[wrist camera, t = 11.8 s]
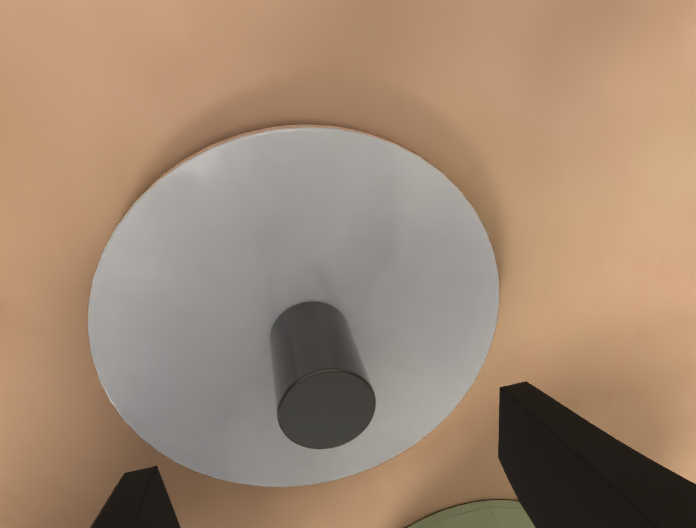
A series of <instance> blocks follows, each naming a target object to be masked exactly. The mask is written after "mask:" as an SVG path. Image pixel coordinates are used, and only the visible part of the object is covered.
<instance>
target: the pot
mask: <svg viewBox="0 0 696 528" xmlns="http://www.w3.org/2000/svg"><path fill="white" fill-rule="evenodd" d="M407 528H535V526H534V524H533V523H532V521H531V520H530V518H529V517H528V515H527V513H526V512H525V510H524V508H523V507H522V505H521V504H520V502H519V501H512V500H488V501H479V502H473V503H468V504H464V505H459V506H456V507H453V508H449V509H446V510H443V511H440V512H438V513H436V514H433V515H431V516H428V517H426V518H424V519H422V520H420V521H418V522H416V523H414V524H412V525H411V526H409V527H407Z"/></svg>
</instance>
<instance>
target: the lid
mask: <svg viewBox="0 0 696 528" xmlns="http://www.w3.org/2000/svg"><path fill="white" fill-rule="evenodd" d="M499 297H500V296H499V276H498V270H497V265H496V260H495V255H494V251H493V248H492V245H491V242H490V240H489V237H488V234H487V231H486V229H485V227H484V225H483V224H482V222H481V220H480V218H479V216H478V214H477V213H476V211H475V209H474V208H473V206H472V205H471V204H470V202H469V201H468V200H467V198H466V197H465V196H464V194H463V193H462V192H461V191H460V189H459V188H458V187H457V186H456V185H455V184H453V183H452V182H451V181H450V180H449V179H448V178H447V177H446V176H445V175H444V174H443V173H442V172H441V171H440V170H438V169H437V168H435V167H434V166H433V165H431V164H430V163H428V162H427V161H426V160H424V159H423V158H421V157H420V156H418V155H417V154H415V153H413V152H411V151H409V150H407V149H406V148H404V147H402V146H400V145H398V144H396V143H394V142H392V141H390V140H387V139H384V138H381V137H378V136H375V135H372V134H369V133H366V132H363V131H358V130H353V129H348V128H342V127H337V126H326V125H308V124H302V125H289V126H277V127H270V128H265V129H261V130H256V131H252V132H247V133H242V134H240V135H237V136H234V137H231V138H229V139H226V140H223V141H220V142H218V143H215V144H212V145H210V146H208V147H206V148H205V149H203V150H201V151H199V152H197V153H195V154H193V155H191V156H189V157H188V158H186V159H184V160H183V161H181V162H180V163H178V164H177V165H176V166H174V167H173V168H171V169H170V170H169V171H167V172H166V173H165V174H163V175H162V176H160V177H159V178H158V179H157V180H156V181H155V182H154V183H153V184H152V185H151V186H150V187H149V188H148V189H147V190H146V191H145V192H144V193H143V194H141V195H140V196H139V197H138V198H137V200H136V201H135V202H134V204H133V205H132V206H131V207H130V209H129V210H128V211H127V213H126V214H125V215H124V217H123V218H122V219H121V220H120V222H119V223H118V225H117V226H116V228H115V230H114V232H113V233H112V235H111V237H110V239H109V241H108V243H107V244H106V246H105V248H104V250H103V252H102V254H101V257H100V260H99V263H98V266H97V268H96V271H95V274H94V277H93V281H92V286H91V292H90V297H89V302H88V336H89V343H90V350H91V356H92V359H93V362H94V365H95V368H96V371H97V375H98V378H99V380H100V382H101V384H102V386H103V388H104V390H105V392H106V394H107V396H108V398H109V400H110V402H111V403H112V404H113V406H114V407H115V409H116V410H117V412H118V413H119V414H120V416H121V417H122V419H123V420H124V421H125V422H126V423H127V424H128V425H129V426H130V427H131V428H132V429H133V430H134V432H135V433H136V434H137V435H138V436H139V437H140V438H142V439H143V440H144V441H145V442H147V443H148V444H149V445H150V446H152V447H153V448H154V449H155V450H157V451H158V452H160V453H161V454H163V455H165V456H166V457H168V458H169V459H171V460H173V461H174V462H176V463H178V464H180V465H182V466H184V467H187V468H189V469H191V470H193V471H195V472H198V473H200V474H203V475H206V476H210V477H213V478H216V479H219V480H223V481H228V482H232V483H237V484H242V485H251V486H261V487H295V486H305V485H314V484H319V483H324V482H329V481H334V480H338V479H341V478H345V477H348V476H352V475H355V474H358V473H360V472H363V471H365V470H368V469H370V468H373V467H375V466H378V465H380V464H382V463H384V462H386V461H388V460H389V459H391V458H393V457H395V456H397V455H399V454H400V453H402V452H404V451H405V450H407V449H408V448H410V447H411V446H413V445H414V444H416V443H417V442H419V441H420V440H421V439H422V438H424V437H425V436H426V435H427V434H429V433H430V432H431V431H433V430H434V429H435V428H436V427H437V426H438V425H439V424H440V423H441V422H442V421H443V420H444V419H445V418H446V417H447V416H448V415H449V414H450V413H451V412H452V411H453V409H454V408H455V407H456V406H457V405H458V403H459V402H460V401H461V400H462V399H463V397H464V396H465V394H466V393H467V391H468V390H469V388H470V387H471V385H472V384H473V382H474V381H475V379H476V377H477V376H478V374H479V372H480V370H481V368H482V366H483V364H484V362H485V360H486V357H487V354H488V352H489V349H490V346H491V343H492V341H493V337H494V332H495V328H496V323H497V319H498V309H499Z"/></svg>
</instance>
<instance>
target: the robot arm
mask: <svg viewBox="0 0 696 528" xmlns="http://www.w3.org/2000/svg"><path fill="white" fill-rule="evenodd" d="M498 458H499V460H500V462H501V465H502V467H503V469H504V471H505V473H506V475H507V477H508V480H509V482H510V484H511V486H512V488H513V490H514V492H515V494H516V496H517V498H518V500H519V502H520V504H521V505H522V507H523V508H524V510H525V512H526V513H527V515H528V517H529V518H530V520H531V521H532V523H533V524H534V526H535V528H696V484H694V483H692V482H690V481H689V480H687V479H685V478H683V477H681V476H679V475H678V474H676V473H674V472H672V471H670V470H669V469H667V468H665V467H663V466H661V465H660V464H658V463H656V462H654V461H652V460H651V459H649V458H647V457H645V456H644V455H642V454H640V453H639V452H637V451H635V450H634V449H632V448H630V447H628V446H627V445H625V444H623V443H622V442H620V441H619V440H617V439H615V438H614V437H612V436H610V435H609V434H607V433H606V432H604V431H602V430H601V429H599V428H598V427H596V426H594V425H593V424H591V423H590V422H588V421H587V420H585V419H583V418H582V417H580V416H579V415H577V414H576V413H574V412H573V411H571V410H570V409H568V408H567V407H565V406H563V405H562V404H560V403H559V402H557V401H556V400H554V399H553V398H551V397H550V396H548V395H547V394H545V393H544V392H542V391H541V390H539V389H537V388H536V387H534V386H533V385H531V384H529V383H528V382H522V383H517V384H513V385H509V386H504V387H500V402H499V443H498ZM90 528H180V525H179V522H178V520H177V517H176V515H175V512H174V509H173V507H172V504H171V501H170V499H169V496H168V494H167V491H166V488H165V486H164V483H163V480H162V478H161V475H160V473H159V470H158V467H157V466H154V467H150V468H145V469H141V470H136V471H132V472H128V473H125V474H124V475H123V477H122V478H121V479H120V481H119V482H118V484H117V486H116V487H115V489H114V490H113V492H112V494H111V495H110V497H109V499H108V500H107V502H106V503H105V505H104V507H103V508H102V510H101V511H100V513H99V515H98V516H97V518H96V519H95V521H94V523H93V524H92V526H91V527H90Z"/></svg>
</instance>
